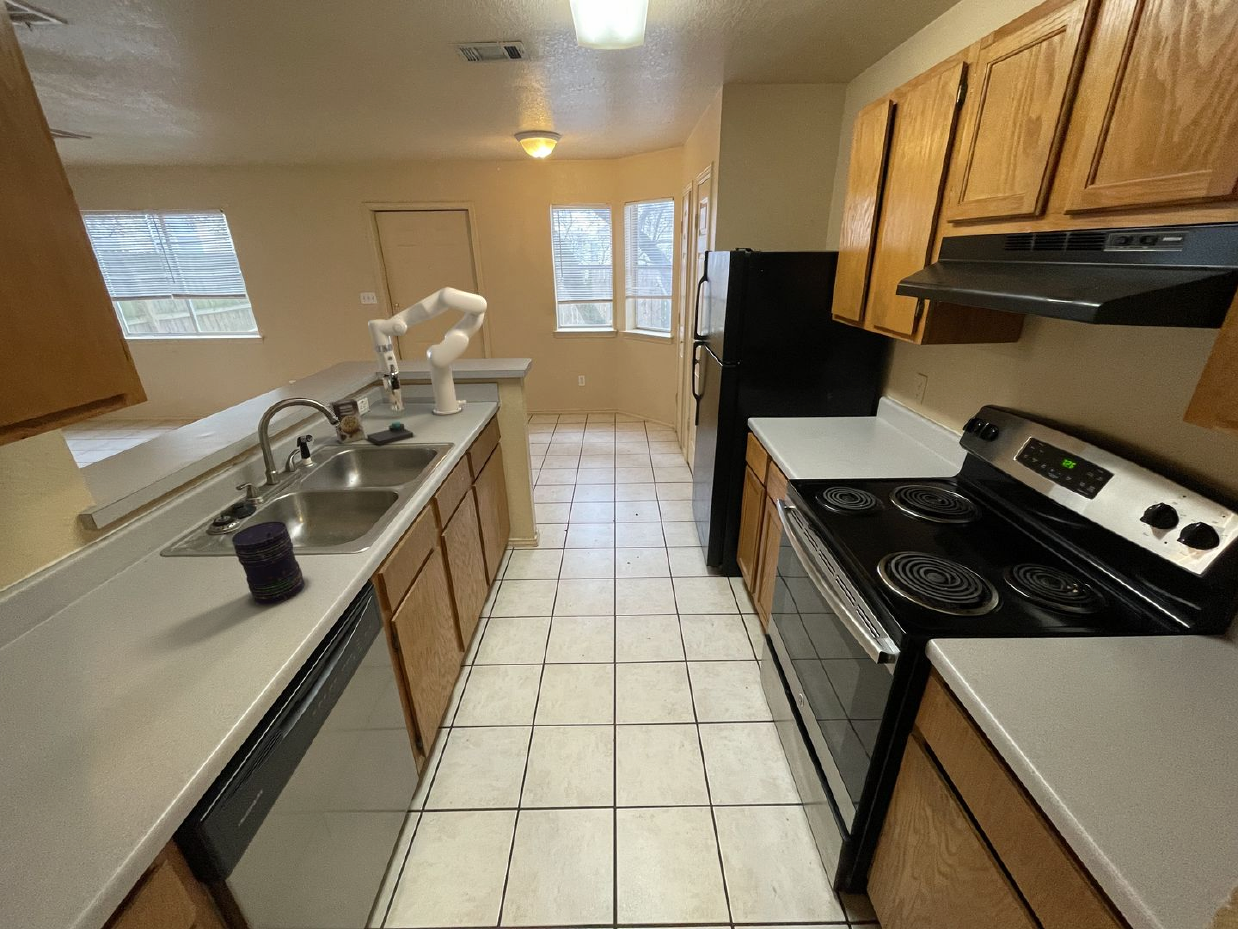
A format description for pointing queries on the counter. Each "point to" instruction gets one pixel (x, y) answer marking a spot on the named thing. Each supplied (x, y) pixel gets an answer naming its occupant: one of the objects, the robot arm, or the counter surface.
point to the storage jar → (269, 562)
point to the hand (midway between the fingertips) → (392, 387)
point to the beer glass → (393, 395)
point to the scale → (390, 435)
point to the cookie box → (348, 420)
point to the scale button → (396, 424)
